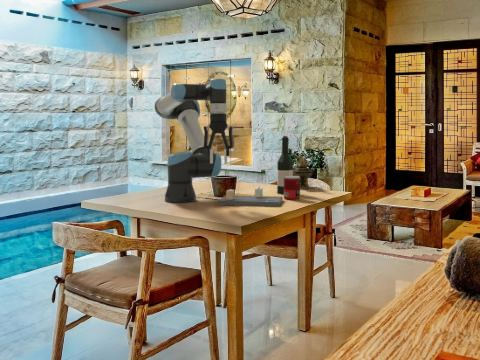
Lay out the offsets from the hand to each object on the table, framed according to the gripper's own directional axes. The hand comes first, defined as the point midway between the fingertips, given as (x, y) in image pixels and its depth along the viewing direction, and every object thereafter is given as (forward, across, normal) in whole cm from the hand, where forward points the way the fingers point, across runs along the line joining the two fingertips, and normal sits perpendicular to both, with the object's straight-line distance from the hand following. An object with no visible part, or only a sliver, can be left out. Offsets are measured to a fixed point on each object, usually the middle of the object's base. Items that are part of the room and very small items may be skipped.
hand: (218, 163), depth 240 cm
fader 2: (+17, +18, +9) cm, 26 cm away
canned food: (+19, +32, +19) cm, 42 cm away
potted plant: (+19, +34, +57) cm, 69 cm away
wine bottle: (+19, +28, +36) cm, 49 cm away
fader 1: (+17, +5, 0) cm, 17 cm away
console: (+19, +14, +4) cm, 24 cm away
